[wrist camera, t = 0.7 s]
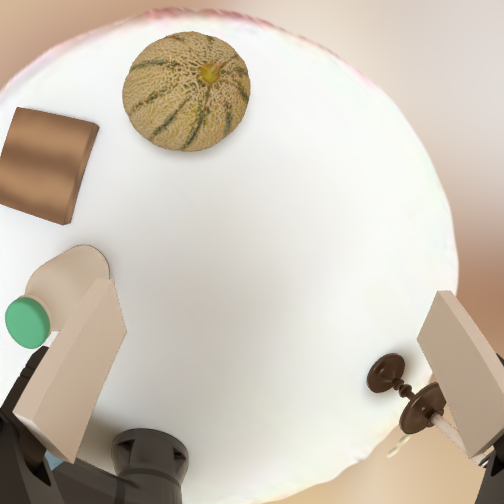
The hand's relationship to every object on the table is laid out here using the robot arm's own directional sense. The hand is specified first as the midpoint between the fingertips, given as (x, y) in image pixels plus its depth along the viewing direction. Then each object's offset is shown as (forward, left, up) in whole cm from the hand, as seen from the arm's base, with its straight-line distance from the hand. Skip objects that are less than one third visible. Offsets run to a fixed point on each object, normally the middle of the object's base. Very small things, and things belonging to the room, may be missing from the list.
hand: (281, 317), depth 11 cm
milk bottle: (-11, +16, -32) cm, 37 cm away
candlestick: (-17, -41, -32) cm, 55 cm away
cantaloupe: (+15, +9, -32) cm, 36 cm away
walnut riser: (+2, +27, -32) cm, 42 cm away
